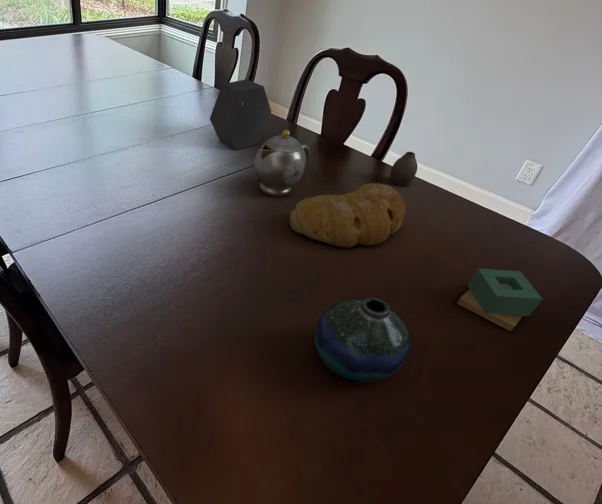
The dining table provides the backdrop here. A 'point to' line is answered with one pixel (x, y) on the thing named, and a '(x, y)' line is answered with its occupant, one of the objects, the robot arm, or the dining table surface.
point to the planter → (240, 113)
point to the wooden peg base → (499, 319)
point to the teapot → (281, 164)
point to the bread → (351, 216)
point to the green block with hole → (503, 292)
